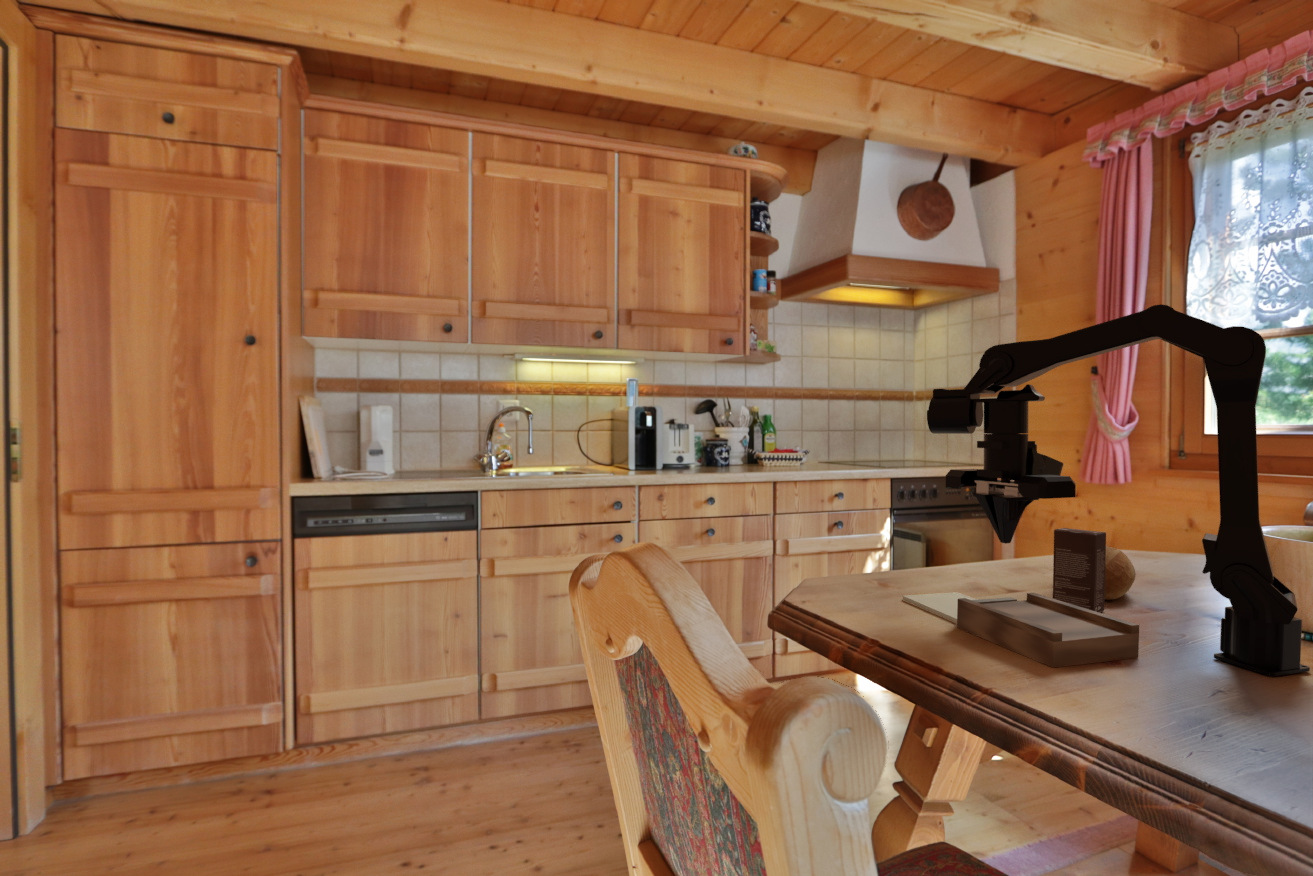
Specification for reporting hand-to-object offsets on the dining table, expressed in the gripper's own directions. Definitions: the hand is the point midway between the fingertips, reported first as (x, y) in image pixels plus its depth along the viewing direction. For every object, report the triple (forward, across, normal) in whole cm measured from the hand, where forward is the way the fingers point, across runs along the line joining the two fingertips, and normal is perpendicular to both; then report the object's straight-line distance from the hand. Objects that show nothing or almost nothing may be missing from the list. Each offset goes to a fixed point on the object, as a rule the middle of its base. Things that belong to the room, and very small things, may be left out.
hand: (1005, 543), depth 101 cm
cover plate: (+11, +6, +3) cm, 13 cm away
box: (+11, +2, -15) cm, 19 cm away
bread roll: (+12, +8, -27) cm, 31 cm away
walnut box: (+11, -9, +3) cm, 15 cm away
